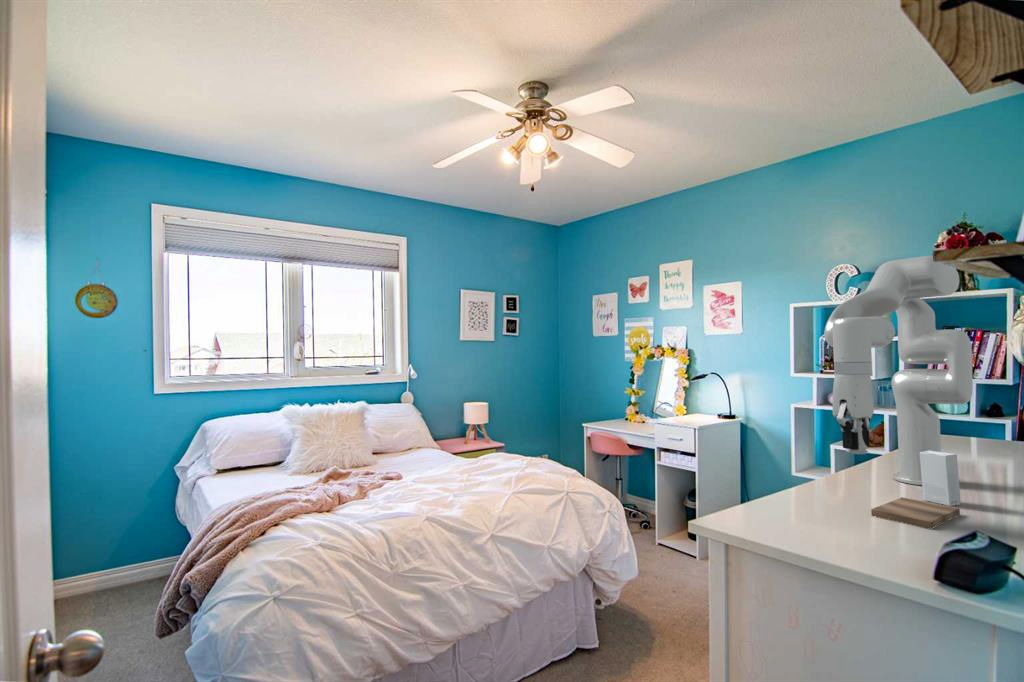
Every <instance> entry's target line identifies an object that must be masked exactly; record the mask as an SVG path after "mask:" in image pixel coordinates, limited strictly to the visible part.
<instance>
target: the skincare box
mask: <svg viewBox="0 0 1024 682" xmlns="http://www.w3.org/2000/svg"><path fill="white" fill-rule="evenodd" d="M920 462H921V474H922V485H921V486H922V495H923V496H922V497H923V498H922V499H923V501H924V502H929V501H930V502H929V503H935V504H940V505H942V504H943V505H945V506H950V507H955V505H957V506H960V505H961V493H960V492H961V491H960V477H959V466H958V456H957V454H956V453H949V452H942V451H941V452H936V451H924V452H920Z"/></svg>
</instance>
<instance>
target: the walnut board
mask: <svg viewBox="0 0 1024 682" xmlns="http://www.w3.org/2000/svg"><path fill="white" fill-rule="evenodd" d="M870 514H871V515H870V516H871V517H874V516H876V517H875V518H879V517H880V518H879V519H883V518H884V520H888V519H889V521H892V520H893V521H892V522H896V521H898V522H897V523H901V522H903V523H902V524H905V523H907V524H906V525H910V524H911V525H910V526H914V525H915V526H914V527H919V528H923V527H925V528H924V529H927V528H930V529H929V530H932V529H931V528H933V527H935V526H937V525H939V524H941V523H943V522H945V521H947V520H949V519H951V518H953V517H955V516H957V517H958V515H959V516H960V515H961V511H960V508H959V507H957V506H956V507H955V506H947V505H942V504H938V503H934V502H929V501H925V500H919V499H913V498H908V497H904V496H903V497H899V498H897V499H894V500H892V501H888V502H886V503H884V504H882V505H879V506H876V507H873V508H871V513H870ZM955 518H956V517H955ZM953 519H954V518H953ZM951 520H952V519H951ZM949 521H950V520H949ZM947 522H948V521H947ZM945 523H946V522H945ZM943 524H944V523H943ZM941 525H942V524H941ZM939 526H940V525H939ZM937 527H938V526H937ZM935 528H936V527H935ZM933 529H934V528H933Z"/></svg>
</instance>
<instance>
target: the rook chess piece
mask: <svg viewBox="0 0 1024 682" xmlns="http://www.w3.org/2000/svg"><path fill="white" fill-rule="evenodd" d="M849 422H850V424H852V421H849ZM862 424H863V422H862V419H861V418H860V419H857V425H856V432H858V442H859V449H858V450H853V449H846V448H844V449H845V450H844V451H845V452H846V453H848V454H853V455H866V454H867V453H868V452H869V451H868V450H867V449H868V447H867V446H866V445H865V442H864V441H863V437H862V430H863V429H862V428H861V426H862Z"/></svg>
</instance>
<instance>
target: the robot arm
mask: <svg viewBox="0 0 1024 682" xmlns="http://www.w3.org/2000/svg"><path fill="white" fill-rule="evenodd" d="M952 266H953V265H952ZM952 266H948V265H943V264H939V263H935V262H934V261H933V255H932V256H931V255H923V256H916V257H909V258H901V259H894V260H889V261H886V262H884V263H882V264H880V266H879V267H878V268H877V269H876V271H875V273H874V275H873V276H872V278H871V279H870V282H869V283H868V286H867V287H866V289H865V291H862V292H860V293H858V294H856V295H855V296H853V297H851V298H850V299H848V300H845V301H843V303H841V304H839V305H838V306H836V308H835V309H834V310H833V311H832V313H831V315H830V316H829V318H828V320H827V321H826V324H825V327H824V331H823V332H824V334H823V336H824V339H825V342H826V343H827V345H829V346H830V347H832V348H833V349H832V351H833V371H834V373H833V375H834V379H833V386H832V415H833V418H836V422H837V423H838V424H839V425H840V426H839V427H840V431H841V434H842V435H841V437H842V438H841V439H842V449H853V450H858V449H859V442H858V432H856V425H857V419H860V418H861V419H862V422H863V424H862V426H861V428H862V429H863V430H862V437H863V441H864V442H865V445H866V446H867V448H870V447H871V443H870V441H871V440H870V430H871V425H870V422H871V419H872V417H873V415H874V411H875V410H874V409H875V407H874V406H875V405H874V404H875V402H874V393H873V390H874V389H873V384H872V378H871V377H873V373H874V372H873V358H872V357H873V355H872V348H881V347H886V346H888V345H890V343H892V342H893V340H894V338H895V335H896V330H895V325H894V324H893V322H892V321H891V320H890V319H889V318H887V317H884V316H887V315H889V314H892V313H893V312H895V314H896V317H897V319H896V320H897V351H898V357H899V359H900V360H901V361H902V362H903V363H905V364H911V365H913V364H914V365H945V366H947V367H948V369H947V368H946V369H945V368H942V369H941V368H939V369H938V368H937V369H936V368H906V369H901V370H899V371H896V372H895V373H894V374H893V376H892V378H891V389H892V392H893V393H892V394H893V397H894V401H895V407H896V422H897V445H898V447H897V448H898V449H897V450H898V468H899V469H898V471H897V472H894V473H893V474H892V478H893V479H894V480H896V481H898V482H901V483H905V484H911V485H917V486H922V474H921V462H920V452H924V451H936V452H942V441H941V440H942V439H941V421H940V418H939V415H938V414H937V413H936V412H935V410H933V408H932V407H931V406H930V405H929V404H932V405H933V404H939V405H940V404H941V405H965V404H968V403H969V402H970V401H971V400H972V397H973V391H974V390H973V388H974V387H973V386H974V385H973V383H974V381H973V380H974V379H973V351H972V344H971V339H970V337H969V335H968V334H967V333H966V332H965V331H963V330H960V329H954V328H953V329H951V328H950V329H937V328H936V314H935V311H934V309H933V308H932V307H931V306H930V305H929V304H928V303H927V302H926V301H925V300H923V299H922V298H933V297H935V298H936V297H945V296H946V297H947V296H950V295H952V294H954V293H955V292H956V291H957V290H958V288H959V285H960V276H959V272H958V270H957V268H955V266H954V267H952ZM849 421H852V424H850V422H849Z"/></svg>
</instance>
